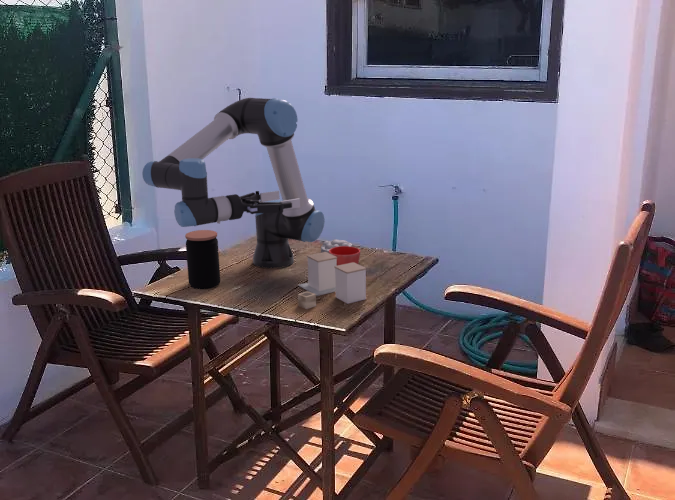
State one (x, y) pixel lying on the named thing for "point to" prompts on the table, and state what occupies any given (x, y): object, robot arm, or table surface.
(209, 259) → the coffee jar
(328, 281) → the cover canister
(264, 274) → the table surface
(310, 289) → the felt mat
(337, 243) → the lumpy-topped squat cylinder
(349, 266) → the empty canister
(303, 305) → the open box
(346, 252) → the flower pot
